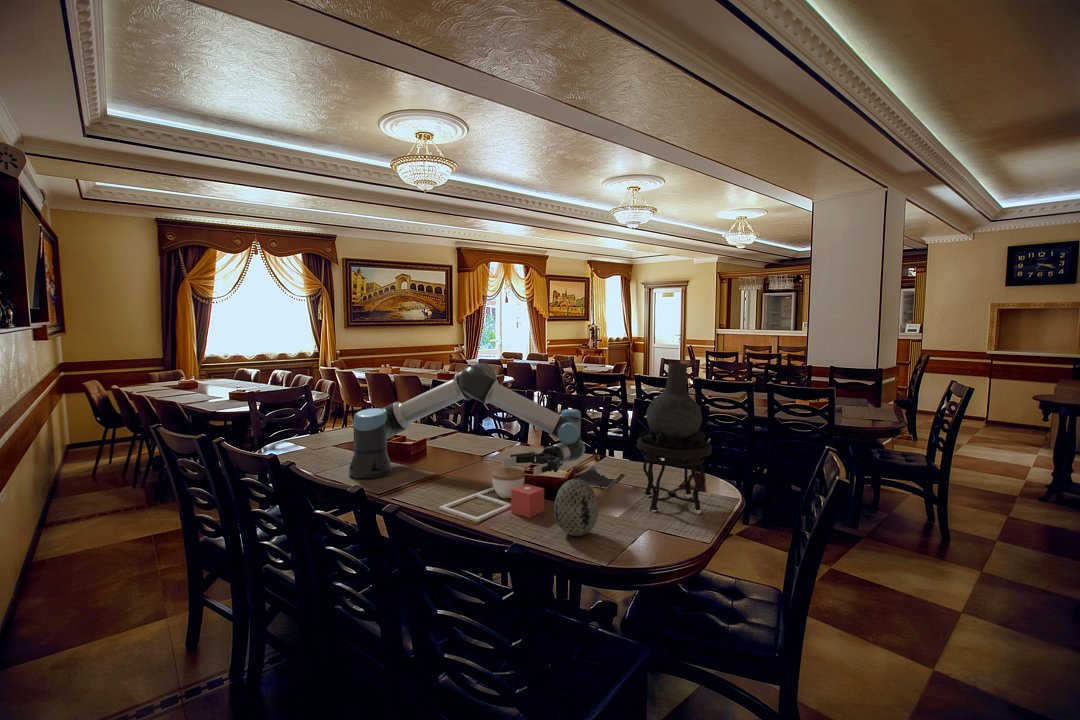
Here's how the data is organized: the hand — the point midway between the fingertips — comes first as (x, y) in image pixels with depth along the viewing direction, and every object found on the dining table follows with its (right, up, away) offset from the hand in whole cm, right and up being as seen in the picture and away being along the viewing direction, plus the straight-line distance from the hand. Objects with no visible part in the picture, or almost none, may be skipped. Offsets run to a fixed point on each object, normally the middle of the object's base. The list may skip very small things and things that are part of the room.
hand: (518, 467), depth 165 cm
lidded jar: (-3, -9, -2) cm, 10 cm away
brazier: (+49, -10, -8) cm, 51 cm away
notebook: (+29, -9, +17) cm, 35 cm away
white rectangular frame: (-8, -9, -8) cm, 14 cm away
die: (+4, -10, -17) cm, 20 cm away
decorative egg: (+17, -11, -32) cm, 38 cm away
